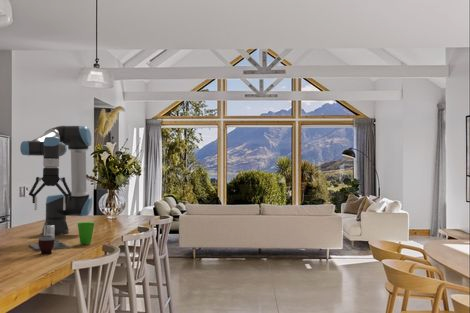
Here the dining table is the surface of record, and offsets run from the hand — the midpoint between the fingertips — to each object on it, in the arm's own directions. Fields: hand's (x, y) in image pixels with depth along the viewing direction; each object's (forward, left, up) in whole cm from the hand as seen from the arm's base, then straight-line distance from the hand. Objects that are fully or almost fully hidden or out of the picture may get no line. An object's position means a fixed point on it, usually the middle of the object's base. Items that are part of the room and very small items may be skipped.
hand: (50, 210), depth 271 cm
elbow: (+1, +2, -18) cm, 18 cm away
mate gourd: (+6, +20, -19) cm, 28 cm away
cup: (-19, -3, -19) cm, 27 cm away
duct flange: (0, 0, -19) cm, 19 cm away
